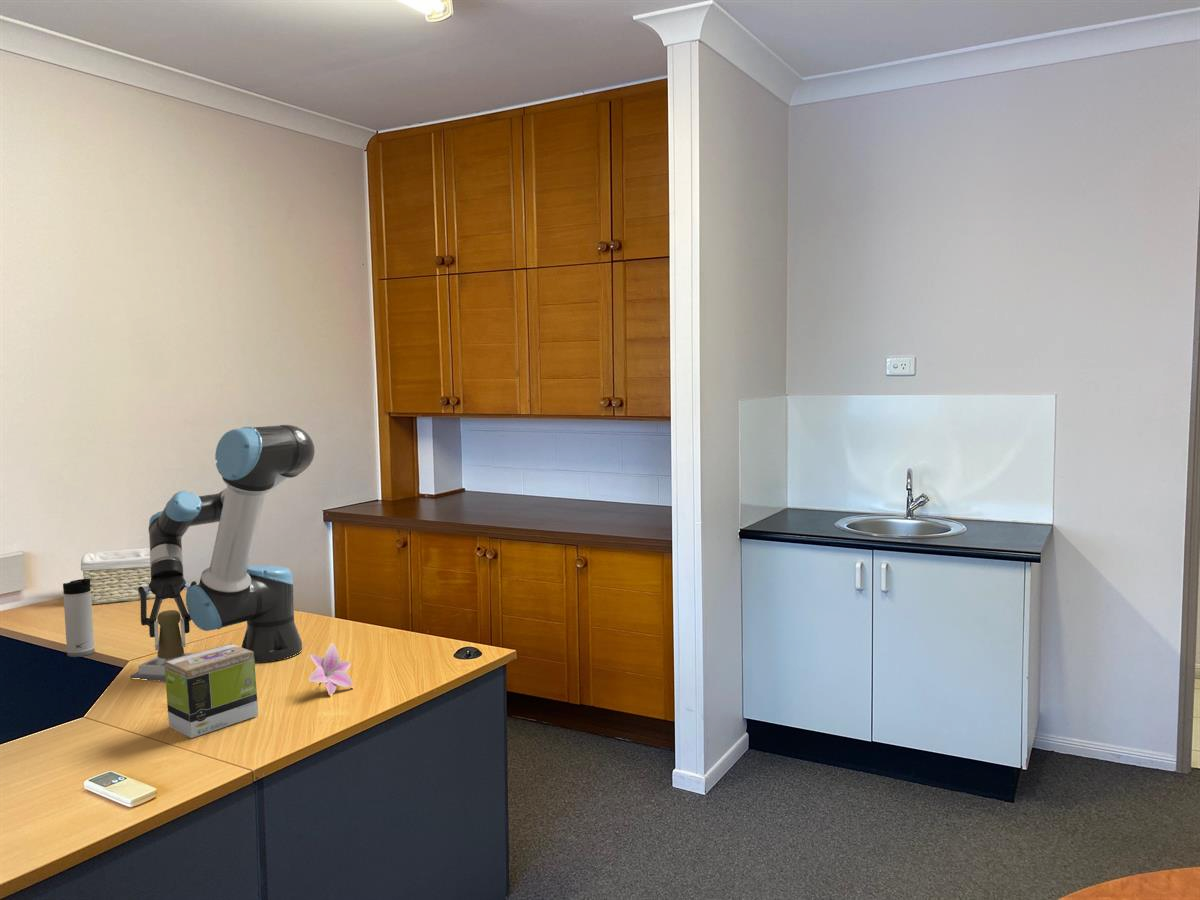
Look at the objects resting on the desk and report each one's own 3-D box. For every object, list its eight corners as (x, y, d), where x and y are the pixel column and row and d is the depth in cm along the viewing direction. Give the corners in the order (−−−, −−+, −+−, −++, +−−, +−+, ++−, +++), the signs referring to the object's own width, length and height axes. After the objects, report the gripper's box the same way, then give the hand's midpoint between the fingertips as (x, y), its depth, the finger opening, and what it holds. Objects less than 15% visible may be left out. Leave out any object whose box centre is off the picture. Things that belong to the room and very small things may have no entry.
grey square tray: (211, 664, 225) (211, 652, 225) (179, 682, 212) (178, 670, 212) (165, 661, 227) (165, 650, 227) (130, 679, 215) (130, 667, 214)
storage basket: (166, 587, 304) (164, 545, 303) (166, 598, 290) (164, 554, 288) (86, 596, 294) (83, 552, 292) (82, 608, 279) (79, 562, 278)
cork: (188, 650, 223) (186, 607, 222) (177, 658, 217) (175, 614, 216) (164, 650, 223) (161, 607, 222) (152, 658, 217) (150, 614, 216)
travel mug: (83, 658, 231) (78, 582, 229) (61, 656, 232) (56, 581, 230) (101, 650, 237) (96, 576, 235) (79, 648, 238) (75, 575, 236)
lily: (300, 706, 200) (316, 673, 197) (291, 672, 209) (307, 639, 207) (350, 710, 207) (366, 678, 204) (340, 677, 216) (355, 645, 214)
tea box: (235, 706, 198) (232, 641, 196) (259, 717, 191) (256, 650, 190) (167, 727, 186) (163, 659, 185) (190, 740, 180) (186, 669, 178)
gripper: (205, 570, 236) (210, 648, 223) (127, 577, 228) (129, 658, 215) (205, 554, 230) (211, 633, 217) (126, 561, 223) (127, 643, 209)
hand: (170, 645), depth 216 cm, fingers closed on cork, 5 cm apart
